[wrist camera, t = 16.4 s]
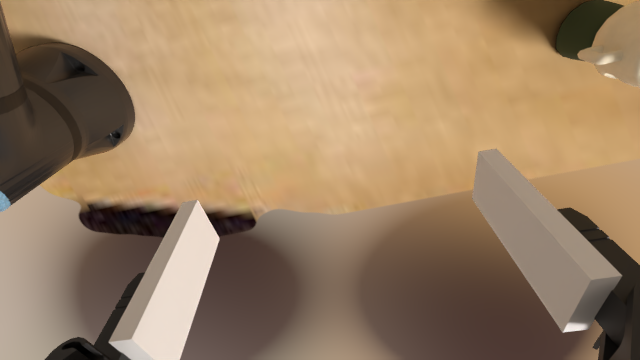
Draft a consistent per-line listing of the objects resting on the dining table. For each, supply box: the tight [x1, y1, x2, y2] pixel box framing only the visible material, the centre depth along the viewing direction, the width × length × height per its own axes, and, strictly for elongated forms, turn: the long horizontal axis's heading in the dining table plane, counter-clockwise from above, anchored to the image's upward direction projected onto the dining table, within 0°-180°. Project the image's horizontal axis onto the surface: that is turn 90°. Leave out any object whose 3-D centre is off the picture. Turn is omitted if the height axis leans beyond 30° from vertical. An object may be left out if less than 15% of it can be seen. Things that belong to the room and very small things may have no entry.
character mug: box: [556, 0, 640, 88], centre depth 31 cm, size 11×7×13 cm, turn 104°
